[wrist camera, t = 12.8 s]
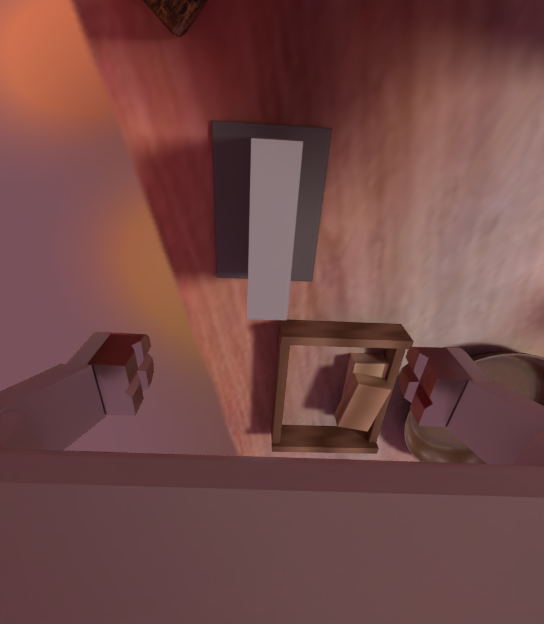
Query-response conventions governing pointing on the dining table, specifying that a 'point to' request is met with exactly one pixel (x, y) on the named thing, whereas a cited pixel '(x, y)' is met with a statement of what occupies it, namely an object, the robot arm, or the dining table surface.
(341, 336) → the brown open frame piece
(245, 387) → the dining table surface
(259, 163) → the block
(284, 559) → the robot arm
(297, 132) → the mat
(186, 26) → the book
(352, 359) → the block
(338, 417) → the offcut short
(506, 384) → the plant saucer
